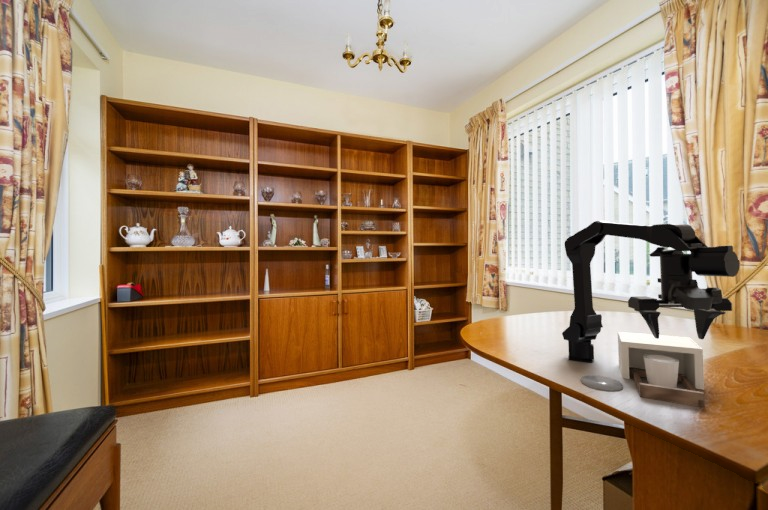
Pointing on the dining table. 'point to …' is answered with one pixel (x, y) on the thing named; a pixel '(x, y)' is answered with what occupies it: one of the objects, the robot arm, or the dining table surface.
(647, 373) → the white tapered cup
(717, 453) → the dining table surface
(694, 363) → the cubby
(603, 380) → the coaster
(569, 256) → the robot arm
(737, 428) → the dining table surface
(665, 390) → the tray
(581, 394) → the dining table surface
